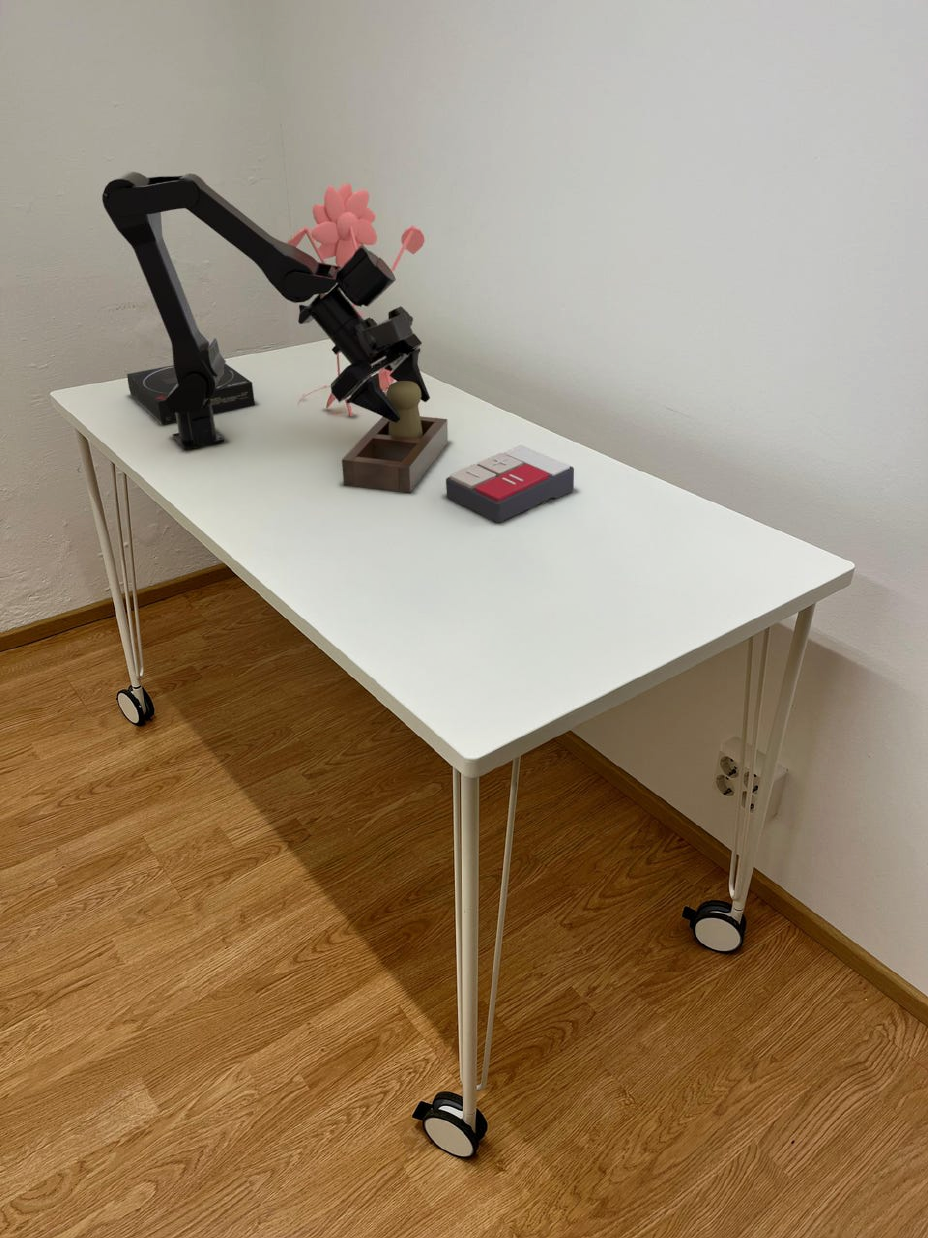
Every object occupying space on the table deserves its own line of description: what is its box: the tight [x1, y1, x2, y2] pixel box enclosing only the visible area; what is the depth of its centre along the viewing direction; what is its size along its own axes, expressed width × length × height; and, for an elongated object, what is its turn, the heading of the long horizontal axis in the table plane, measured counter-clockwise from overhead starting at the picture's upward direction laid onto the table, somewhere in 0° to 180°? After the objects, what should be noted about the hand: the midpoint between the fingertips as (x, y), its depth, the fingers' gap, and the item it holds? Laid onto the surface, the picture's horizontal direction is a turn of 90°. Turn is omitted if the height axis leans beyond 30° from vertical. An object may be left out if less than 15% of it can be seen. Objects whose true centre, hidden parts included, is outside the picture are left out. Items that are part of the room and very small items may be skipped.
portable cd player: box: [126, 362, 256, 426], centre depth 171 cm, size 16×17×4 cm
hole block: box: [341, 415, 449, 494], centre depth 148 cm, size 10×19×4 cm, turn 164°
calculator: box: [445, 444, 575, 524], centre depth 139 cm, size 11×4×15 cm
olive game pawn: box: [386, 381, 423, 439], centre depth 149 cm, size 6×6×11 cm
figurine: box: [286, 182, 425, 417], centre depth 162 cm, size 15×26×35 cm, turn 128°
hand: (413, 410), depth 148 cm, fingers open, 9 cm apart
